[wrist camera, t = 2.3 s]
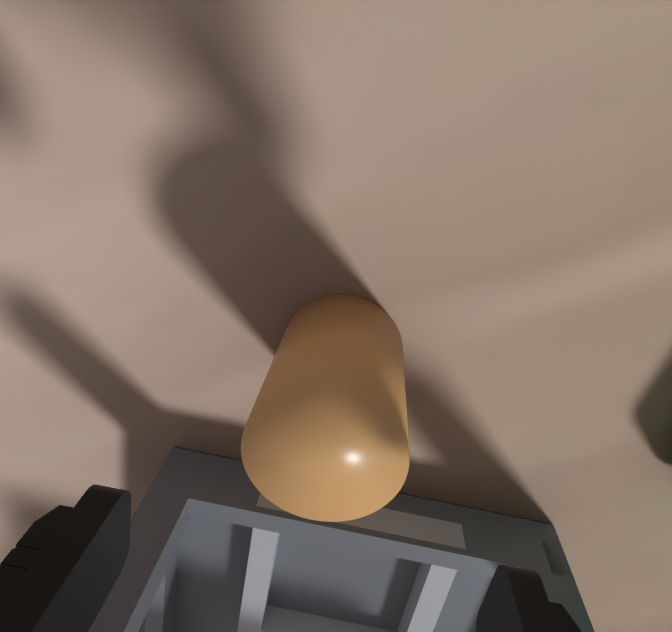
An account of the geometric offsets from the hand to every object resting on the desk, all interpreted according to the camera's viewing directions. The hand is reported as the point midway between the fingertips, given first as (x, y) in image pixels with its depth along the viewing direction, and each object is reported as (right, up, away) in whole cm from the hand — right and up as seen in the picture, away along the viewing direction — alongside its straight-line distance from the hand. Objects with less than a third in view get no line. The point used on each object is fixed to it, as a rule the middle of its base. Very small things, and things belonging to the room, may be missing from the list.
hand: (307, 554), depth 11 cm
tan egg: (+1, +4, +8) cm, 9 cm away
